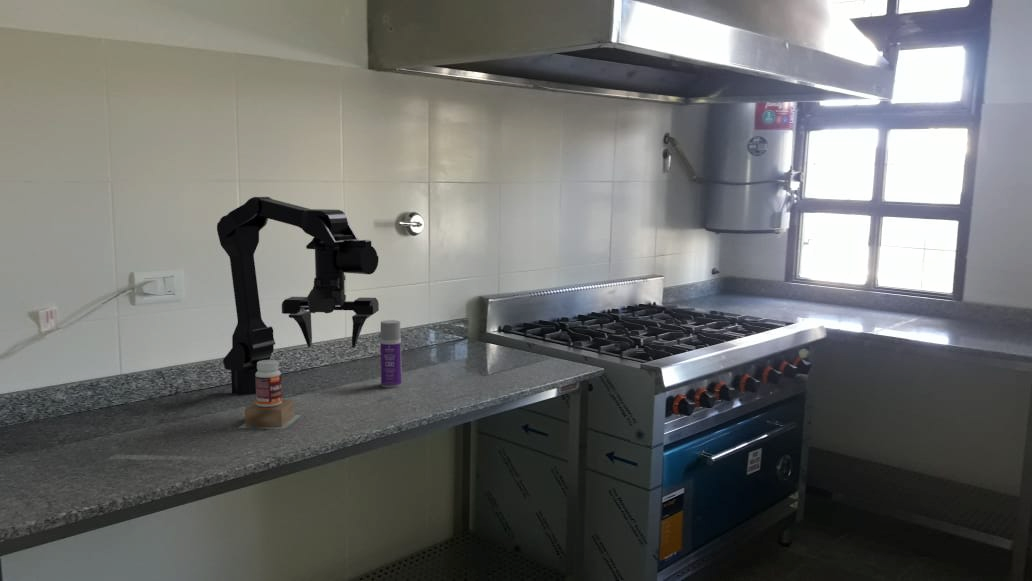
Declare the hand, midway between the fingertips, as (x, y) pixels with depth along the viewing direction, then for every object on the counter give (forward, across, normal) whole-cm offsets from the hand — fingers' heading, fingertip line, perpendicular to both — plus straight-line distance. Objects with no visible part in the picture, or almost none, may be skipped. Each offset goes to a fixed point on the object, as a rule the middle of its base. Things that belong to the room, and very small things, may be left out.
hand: (331, 347), depth 163 cm
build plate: (+13, -6, -11) cm, 18 cm away
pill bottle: (+9, -9, -12) cm, 18 cm away
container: (+13, +8, +20) cm, 25 cm away
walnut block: (+12, -9, -12) cm, 19 cm away
